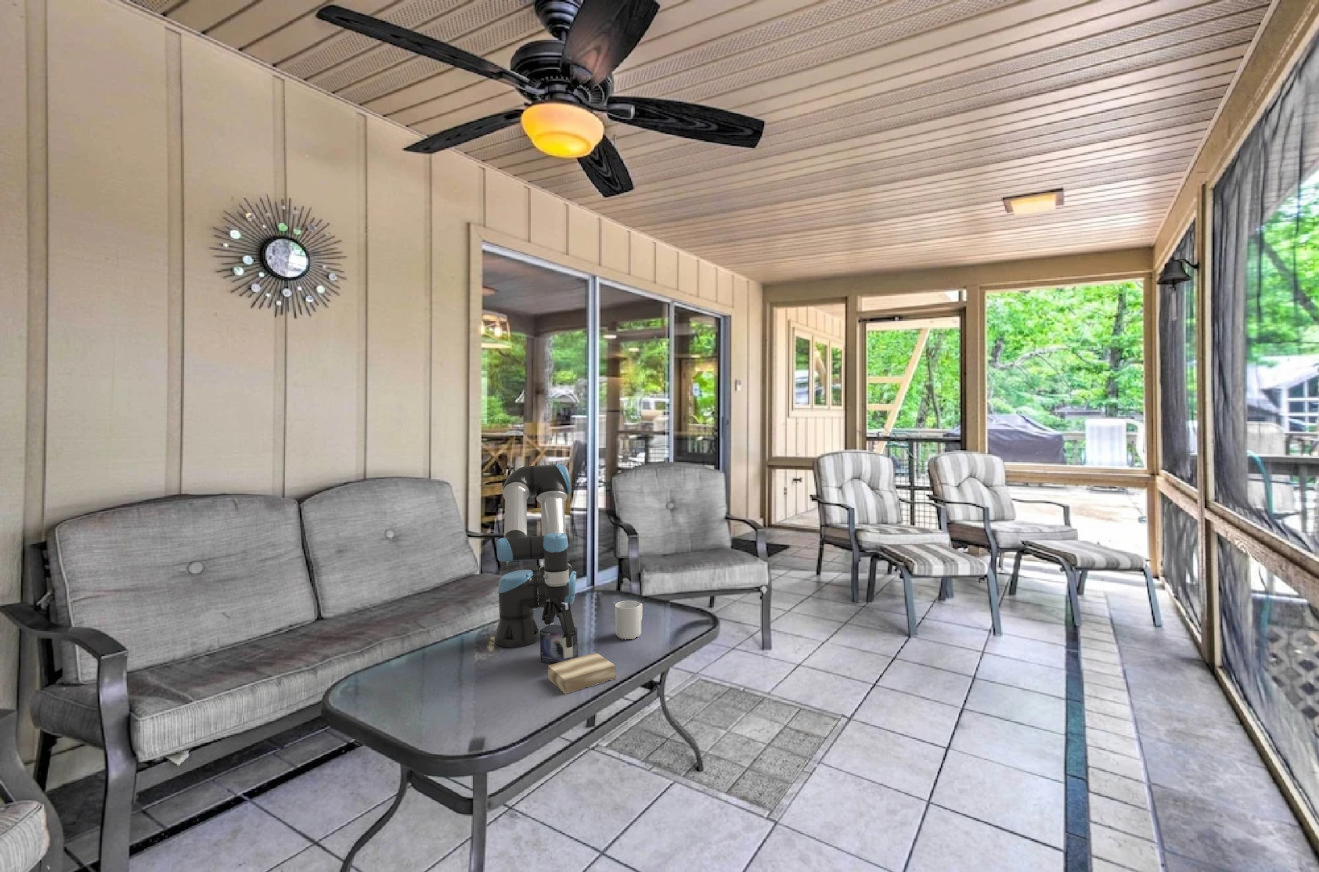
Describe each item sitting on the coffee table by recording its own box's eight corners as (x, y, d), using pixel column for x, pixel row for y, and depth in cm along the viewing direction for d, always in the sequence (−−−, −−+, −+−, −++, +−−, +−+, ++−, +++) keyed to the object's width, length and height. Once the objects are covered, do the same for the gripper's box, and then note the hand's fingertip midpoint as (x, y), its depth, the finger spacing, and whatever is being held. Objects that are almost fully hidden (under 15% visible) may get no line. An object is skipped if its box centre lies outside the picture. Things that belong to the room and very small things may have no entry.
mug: (630, 642, 204) (629, 610, 204) (610, 637, 209) (609, 605, 209) (651, 631, 214) (650, 600, 213) (631, 627, 219) (631, 596, 218)
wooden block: (548, 679, 177) (547, 665, 177) (596, 665, 186) (596, 652, 186) (565, 694, 167) (565, 679, 167) (615, 679, 176) (615, 665, 176)
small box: (539, 663, 189) (538, 630, 188) (550, 655, 195) (549, 623, 194) (568, 667, 185) (567, 634, 184) (579, 659, 191) (578, 626, 190)
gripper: (530, 577, 197) (532, 641, 198) (562, 594, 176) (564, 666, 177) (551, 573, 201) (554, 636, 202) (585, 589, 181) (587, 660, 181)
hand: (559, 650), depth 189 cm, fingers open, 13 cm apart
